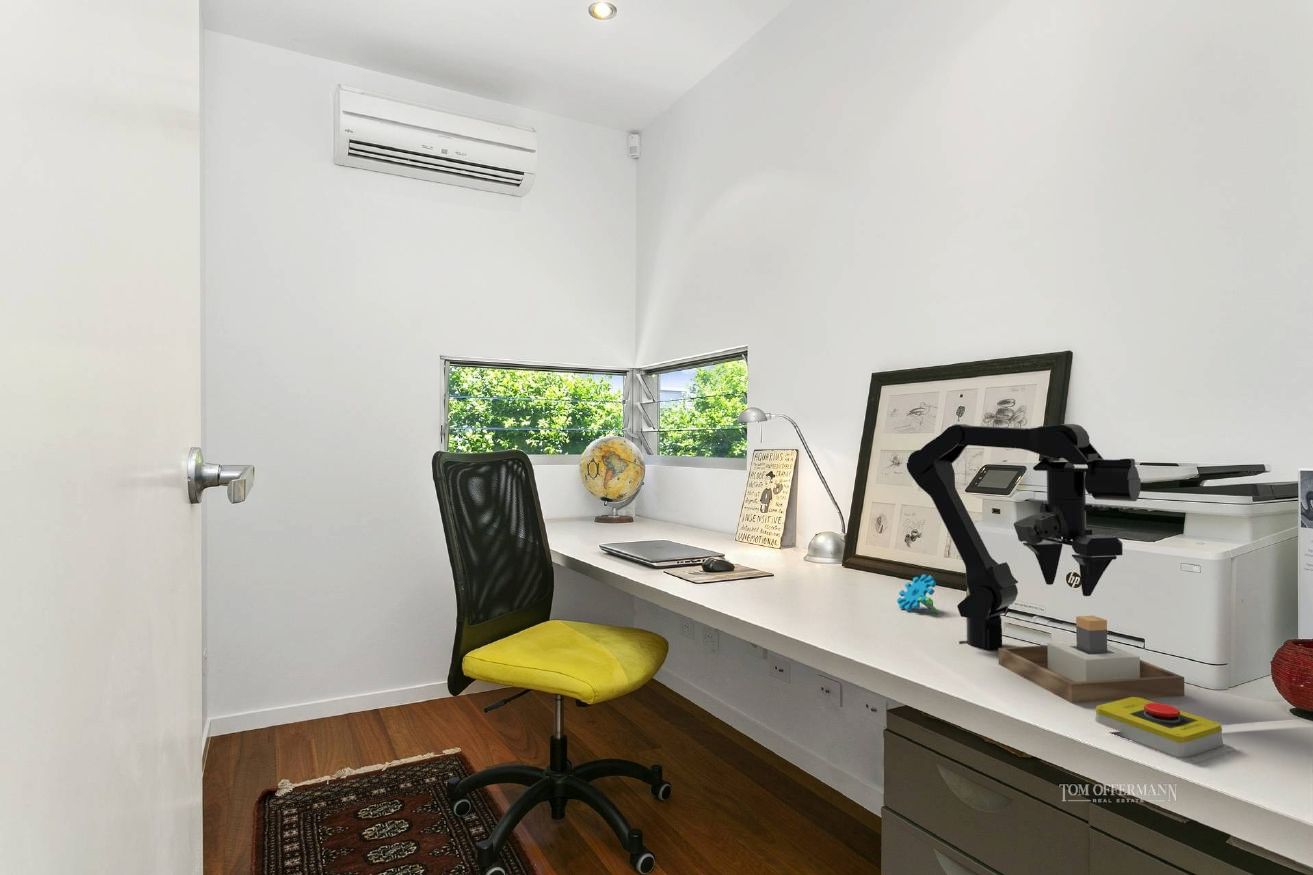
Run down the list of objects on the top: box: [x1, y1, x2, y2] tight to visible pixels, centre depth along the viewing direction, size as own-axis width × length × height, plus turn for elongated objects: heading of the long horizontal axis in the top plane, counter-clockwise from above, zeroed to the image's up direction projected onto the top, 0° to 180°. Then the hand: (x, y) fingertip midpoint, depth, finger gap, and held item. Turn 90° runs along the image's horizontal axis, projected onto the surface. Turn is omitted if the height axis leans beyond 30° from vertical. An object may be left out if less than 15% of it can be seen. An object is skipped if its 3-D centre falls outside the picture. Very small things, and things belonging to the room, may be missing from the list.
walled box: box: [997, 644, 1186, 704], centre depth 115 cm, size 18×18×4 cm
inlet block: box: [1046, 640, 1141, 682], centre depth 117 cm, size 9×9×4 cm
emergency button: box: [1094, 697, 1237, 765], centre depth 96 cm, size 9×4×15 cm
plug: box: [1075, 615, 1108, 655], centre depth 117 cm, size 3×3×8 cm
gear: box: [896, 574, 939, 614], centre depth 165 cm, size 11×6×10 cm
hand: (1067, 590), depth 124 cm, fingers open, 9 cm apart
